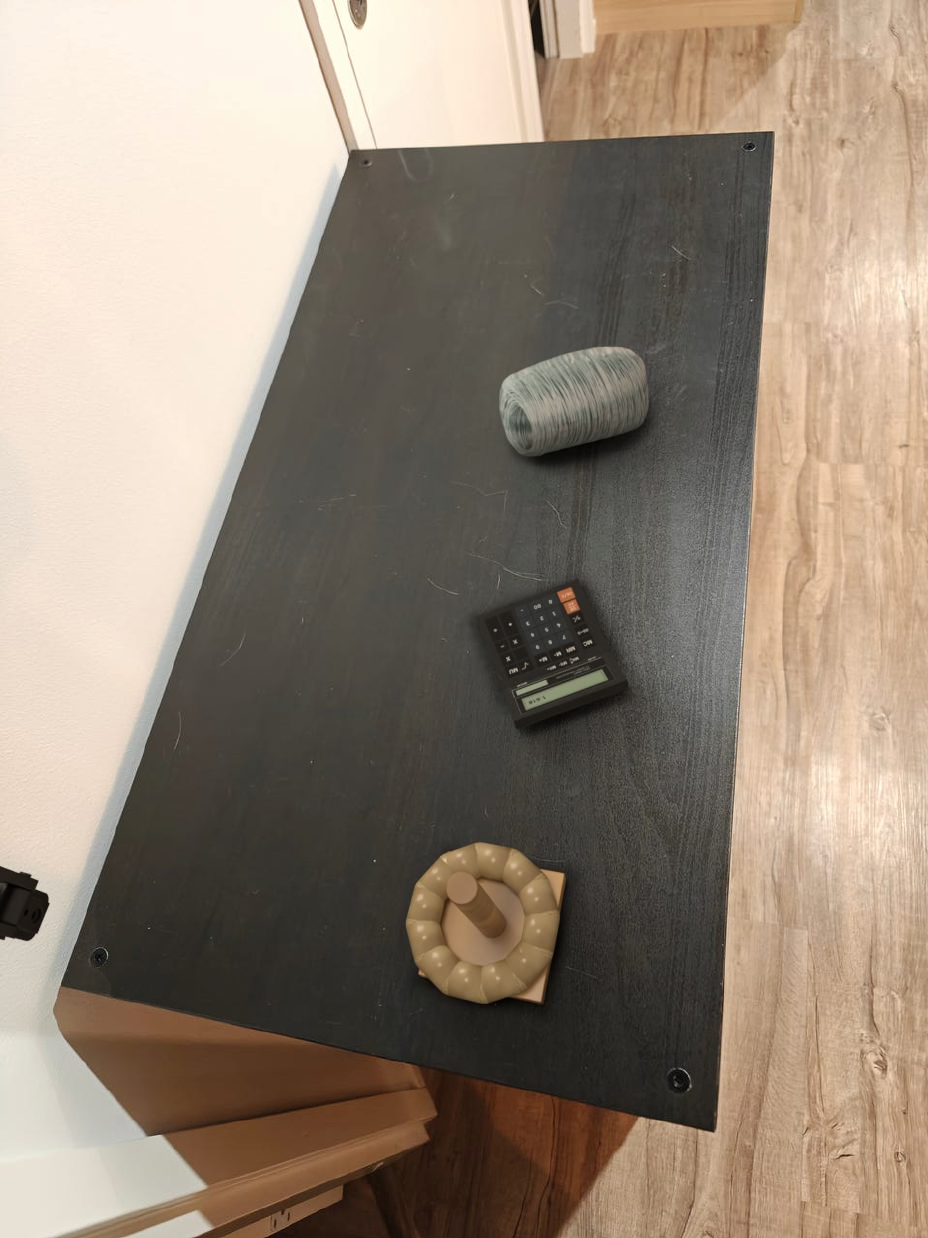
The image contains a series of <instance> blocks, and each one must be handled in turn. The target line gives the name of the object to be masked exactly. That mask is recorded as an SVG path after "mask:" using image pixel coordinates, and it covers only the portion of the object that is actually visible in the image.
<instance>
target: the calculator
mask: <svg viewBox="0 0 928 1238" xmlns="http://www.w3.org/2000/svg"><path fill="white" fill-rule="evenodd" d="M475 620H476V622H477V625H478V629H479V631H480V634H481V637H482V639H483V642H484V644H485V647H486V651H487V652H488V656H489V658H490V661H491V663H492V666H493V669H494V671H495V674H496V677H497V680H498V682H499V686H500V688H501V691H502V693H503V696H504V699H505V701H506V705H507V707H508V710H509V713H510V716H511V718H512V721H513V724H514V726H515V728H516V730H519V729H522V728H525V727H528V726H530V725H534V724H536V723H538V722H541V721H544V720H547V719H549V718H553V717H555V716H558V715H560V714H563V713H566V712H568V711H571V710H573V709H576V708H577V709H578V708H579V707H583V706H585V705H587V704H591V703H593V702H596V701H599V700H601V699H604V698H607V697H609V696H612V695H615V694H618V693H621V692H623V691H626V690H629V689H630V686H629V682H628V679H627V677H626V675H625V674H624V672H623V671H622V669H621V667H620V666H619V664H618V662H617V661H616V659H615V656H614V655H613V653H612V652H611V650H610V648H609V645H608V643H607V641H606V639H605V636H604V634H603V631H602V630H601V628H600V625H599V623H598V621H597V618H596V616H595V614H594V611H593V609H592V607H591V605H590V603H589V600H588V599H587V596H586V594H585V591H584V589H583V586H582V584H581V583H580V580H579V578H577V579H574V580H571V581H568V582H566V583H563V584H560V585H557V586H555V587H552V588H549V589H547V590H544V591H541V592H537V593H535V594H533V595H531V596H527V597H525V598H522V599H520V600H517V601H513V602H511V603H508V604H506V605H503V606H500V607H497V608H495V609H491V610H489V611H487V612H484V613H481V614H479V615H475Z"/></svg>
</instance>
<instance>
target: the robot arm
mask: <svg viewBox="0 0 928 1238" xmlns="http://www.w3.org/2000/svg"><path fill="white" fill-rule="evenodd" d="M32 876H33V875H32V874H31V873H28V872H24V871H19V872H18V871H15V870H12V869H9V868H7V867H4V866H2V865H0V940H1V941H5V940H6V938H9V939H13V940H20V941H24V942H30V941H31V940H33V939H34V938H35V936H36V935H38V934H39V932H40V930H41V927H42V924H43V922H44V919H45V917H46V915H47V912H48V909H49V907H50V904H51V902H50V901H49V900H50V899H49V898H50V897H49V894H48V893H47V892H44V891H42V890H39V889H37V887H38V884H39V881H40V880H39V879H36V878H33V877H32Z"/></svg>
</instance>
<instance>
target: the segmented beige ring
mask: <svg viewBox="0 0 928 1238" xmlns="http://www.w3.org/2000/svg"><path fill="white" fill-rule="evenodd" d="M540 869H541V868H539V867H538V866H537V865H536V864H534V862H532V861H531V860H530V859H529V858H528V857H527V856H525V855H524V854H523V853H522V852H521V851H520V850H519V849H517V848H513V847H508V846H503V845H497V844H492V843H488V842H481V841H479V842H474V843H471V844H469V845H465V846H462V847H459V848H455V849H454V850H451V851H450V852H448V853H447V852H445V853H443V854H441V855H440V856H439V857H438V858H437V859H436V860H435V862H434V863H432V865H431V866H430V867H429V868H428V869H427V870H426V871H425V872H424V873H423V875H422V876H421V877H420V878H419V879H418V881H417V882H416V883H415V885H414V888H413V891H412V896H411V900H410V903H409V907H408V912H407V915H406V918H405V929H406V933H407V937H408V941H409V945H410V948H411V949H410V950H411V953H412V957H413V961H414V963H415V966H416V967H417V968H418V970H419V969H420V970H421V971H422V972H423V973H424V974H425V975H426V976H427V977H428V978H429V979H428V978H427V979H428V980H429V981H430V982H431V983H432V984H433V985H434V986H435V987H436V988H437V989H438V990H439V991H440V992H441V993H442V994H444V995H446V996H448V997H453V998H456V999H460V1000H465V1001H469V1002H472V1003H477V1004H482V1005H487V1004H491V1003H494V1002H496V1001H500V1000H503V999H505V998H510V997H509V996H512V995H515V994H518V993H521V992H523V991H524V990H526V989H527V988H528V987H529V986H530V984H531V983H532V982H533V981H534V980H535V978H536V977H537V976H538V975H539V974H540V973H541V971H542V970H543V969H544V968H545V967H546V965H547V964H548V963H549V962H550V960H551V959H552V960H553V956H554V953H555V947H556V942H557V937H558V931H559V927H560V921H561V912H560V913H559V910H558V907H557V904H556V901H555V898H554V895H553V892H552V889H551V886H550V883H549V880H548V878H547V876H546V875H545V874H544V873H543V872H542V871H541V870H540ZM457 872H468V873H470V874H472V875H473V876H474V877H475V878H479V877H486V878H491V879H496V880H501V881H503V882H504V883H505V884H506V885H507V886H509V887H510V888H511V889H512V890H513V891H514V892H515V893H516V894H517V895H518V896H519V899H520V902H521V905H522V908H523V912H524V915H525V921H524V926H523V931H522V936H521V941H520V942H519V943H518V944H517V945H516V946H515V948H514V949H513V950H512V951H511V952H510V953H509V955H508V956H507V957H506V958H505V959H502V960H499V961H496V962H493V963H491V964H488V965H485V966H481V965H477V964H472V963H468V962H464V961H461V960H460V959H459V958H458V957H457V956H456V955H455V954H454V953H453V952H452V951H451V950H450V949H449V948H448V947H447V946H446V945H445V941H444V937H443V934H442V930H441V926H440V920H441V916H442V912H443V907H444V903H445V900H446V899H447V898H448V896H447V893H446V885H447V882H448V880H449V878H450V877H451V876H452V875H453V874H455V873H457Z"/></svg>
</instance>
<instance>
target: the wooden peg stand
mask: <svg viewBox="0 0 928 1238" xmlns="http://www.w3.org/2000/svg"><path fill="white" fill-rule="evenodd" d="M448 852H451V851H448V850H447V851H446V853H448ZM539 869H540V870H541V871H542V872H543V873H544V874H545V875H546V876H547V878H548V880H549V883H550V886H551V889H552V892H553V895H554V898H555V901H556V904H557V907H558V910H559V913H560V914H561V910H562V906H563V905H562V904H563V898H564V892H565V889H566V882H567V877H566V874H565V873H564V872H559V871H553V870H548V869H542V868H539ZM446 893H447V896H448V898H447V899H446V900H445V903H444V907H443V912H442V916H441V920H440V926H441V930H442V934H443V937H444V941H445V945H446V946H447V947H448V948H449V949H450V950H451V951H452V952H453V953H454V954H455V955H456V956H457V957H458V958H459V959H460V960H461V961H464V962H468V963H472V964H477V965H481V966H485V965H488V964H491V963H493V962H496V961H499V960H502V959H505V958H506V957H507V956H508V955H509V953H510V952H511V951H512V950H513V949H514V948H515V946H516V945H517V944H518V943H519V942H520V941H521V936H522V931H523V926H524V921H525V915H524V912H523V908H522V905H521V902H520V899H519V896H518V895H517V894H516V893H515V892H514V891H513V890H512V889H511V888H510V887H509V886H507V885H506V884H505V883H504V882H503V881H501V880H496V879H491V878H486V877H479V878H475V877H474V876H473V875H472V874H470V873H468V872H457V873H455V874H453V875H452V876H451V877H450V878H449V880H448V882H447V885H446ZM552 960H553V958H552V959H551V960H550V962H549V963H548V964H547V965H546V967H545V968H544V969H543V970H542V971H541V973H540V974H539V975H538V976H537V977H536V978H535V980H534V981H533V982H532V983H531V984H530V986H529V987H528V988H527V989H526V990H524V991H523V992H521V993H518V994H515V995H512V996H509V997H508V998H510V999H515V1000H518V1001H519V1000H520V1001H525V1002H529V1003H531V1004H532V1003H533V1004H537V1005H542V1006H543V1005H544V1004H545V1000H546V994H547V988H548V983H549V977H550V971H551V966H552V965H551V964H552ZM418 975H419V976H420V977H422V978H425V979H428V980H430V979H429V978H428V977H427V976H426V975H425V974H424V973H423V972H422V971H421V970H420V969H419V968H418Z"/></svg>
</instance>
